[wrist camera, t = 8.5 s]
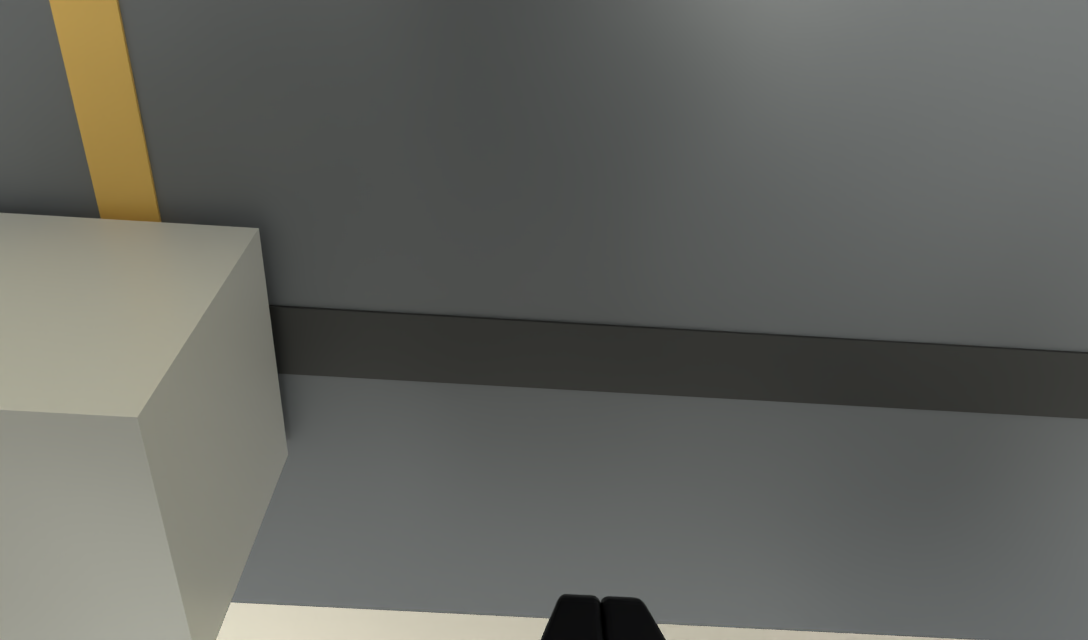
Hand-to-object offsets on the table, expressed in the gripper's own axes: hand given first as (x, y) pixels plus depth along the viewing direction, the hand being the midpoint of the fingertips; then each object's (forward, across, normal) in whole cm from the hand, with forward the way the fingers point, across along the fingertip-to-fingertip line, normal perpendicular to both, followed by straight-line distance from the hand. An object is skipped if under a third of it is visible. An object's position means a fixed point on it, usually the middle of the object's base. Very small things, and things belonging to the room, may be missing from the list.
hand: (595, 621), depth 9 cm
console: (+8, -1, 0) cm, 8 cm away
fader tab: (+5, +7, 0) cm, 8 cm away
